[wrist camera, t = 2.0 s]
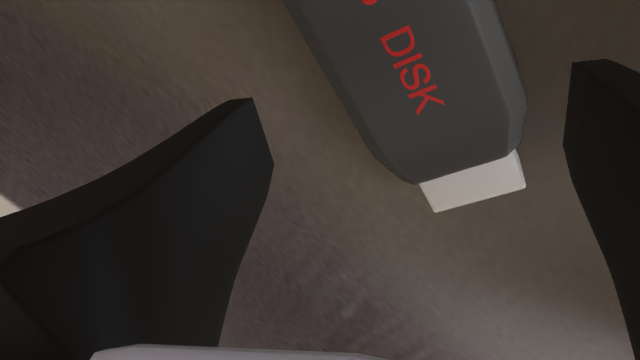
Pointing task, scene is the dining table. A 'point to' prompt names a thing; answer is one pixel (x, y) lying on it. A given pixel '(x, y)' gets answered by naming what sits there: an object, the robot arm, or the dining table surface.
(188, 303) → the robot arm
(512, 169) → the usb drive
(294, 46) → the dining table surface
